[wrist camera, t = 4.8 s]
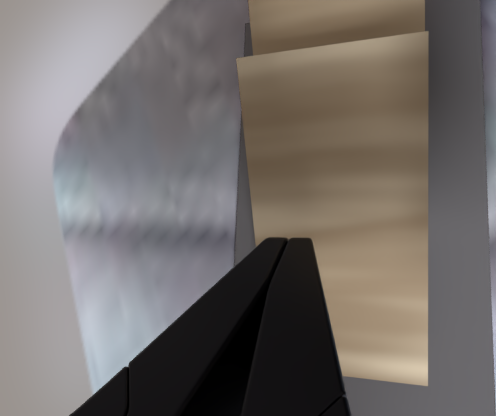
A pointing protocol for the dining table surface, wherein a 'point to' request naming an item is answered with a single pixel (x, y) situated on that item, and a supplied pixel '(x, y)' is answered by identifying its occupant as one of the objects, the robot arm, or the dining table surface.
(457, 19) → the rubber mat
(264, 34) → the domino
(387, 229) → the domino
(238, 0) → the dining table surface
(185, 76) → the dining table surface
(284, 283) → the robot arm
